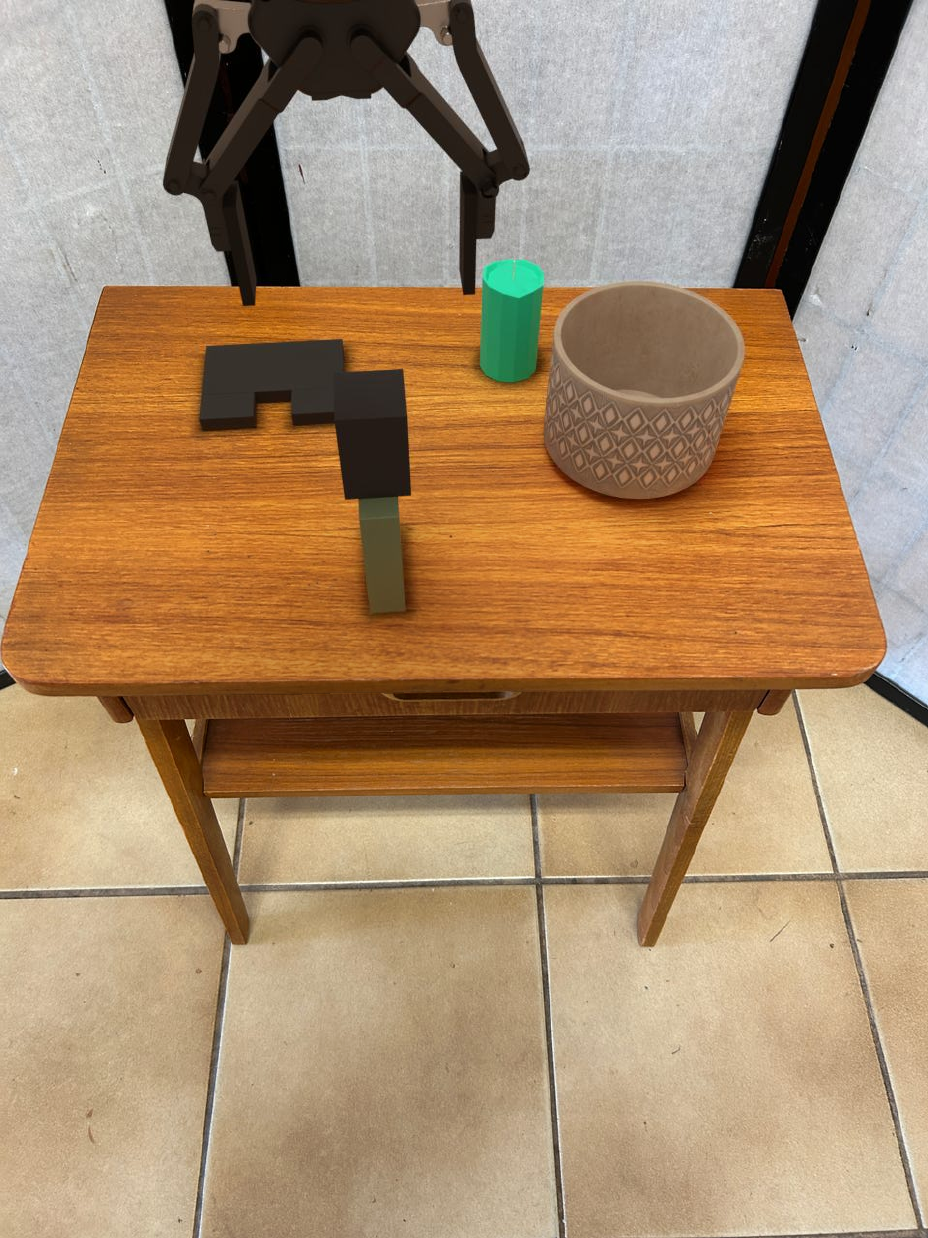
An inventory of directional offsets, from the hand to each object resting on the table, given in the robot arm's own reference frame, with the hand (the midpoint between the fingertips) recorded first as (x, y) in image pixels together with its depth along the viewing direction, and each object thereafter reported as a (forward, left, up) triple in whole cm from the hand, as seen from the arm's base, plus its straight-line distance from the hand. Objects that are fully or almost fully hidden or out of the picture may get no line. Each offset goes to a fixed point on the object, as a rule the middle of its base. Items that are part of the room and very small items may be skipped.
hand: (359, 287), depth 60 cm
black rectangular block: (0, +1, -16) cm, 17 cm away
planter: (+24, +13, -29) cm, 40 cm away
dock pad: (-10, +24, -28) cm, 39 cm away
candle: (+14, +26, -29) cm, 41 cm away
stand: (0, 0, -28) cm, 29 cm away
